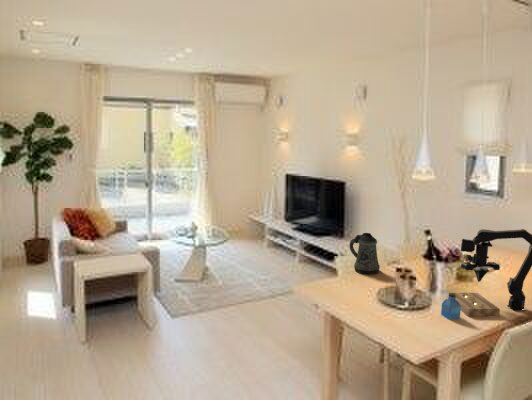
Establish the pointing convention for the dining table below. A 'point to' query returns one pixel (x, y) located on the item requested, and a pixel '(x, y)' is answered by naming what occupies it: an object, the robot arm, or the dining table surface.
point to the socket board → (473, 310)
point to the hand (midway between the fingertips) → (478, 281)
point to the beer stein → (365, 254)
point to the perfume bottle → (451, 307)
